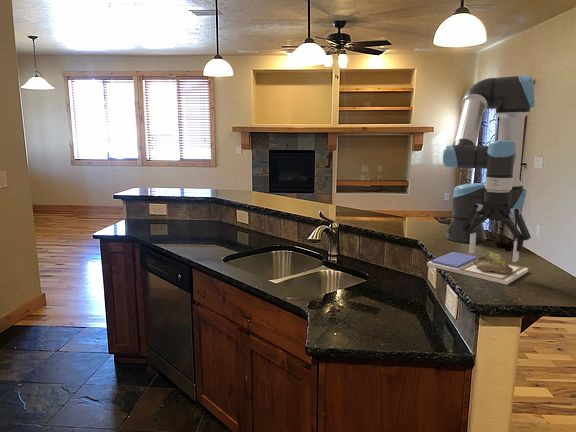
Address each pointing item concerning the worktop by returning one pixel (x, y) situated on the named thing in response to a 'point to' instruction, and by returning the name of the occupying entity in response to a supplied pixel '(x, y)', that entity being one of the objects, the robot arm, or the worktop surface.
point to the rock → (492, 263)
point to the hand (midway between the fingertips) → (492, 256)
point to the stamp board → (474, 268)
